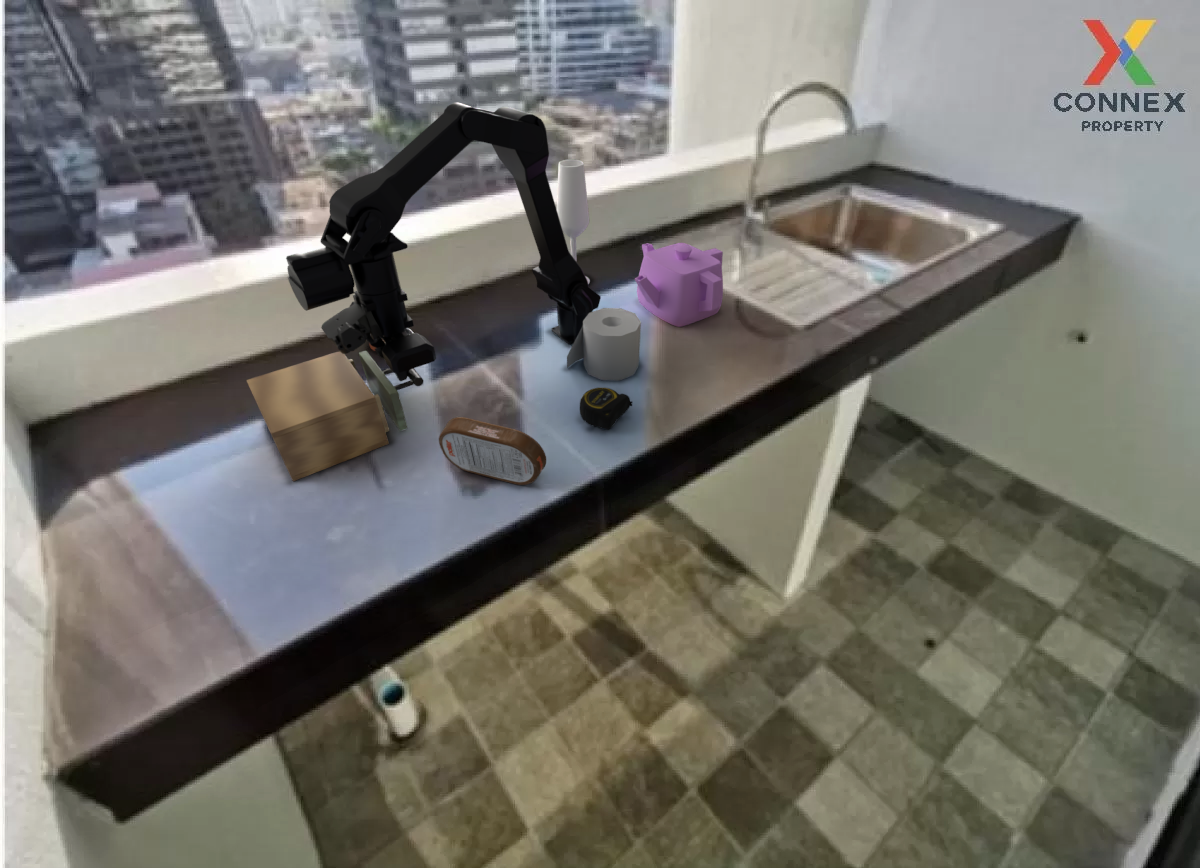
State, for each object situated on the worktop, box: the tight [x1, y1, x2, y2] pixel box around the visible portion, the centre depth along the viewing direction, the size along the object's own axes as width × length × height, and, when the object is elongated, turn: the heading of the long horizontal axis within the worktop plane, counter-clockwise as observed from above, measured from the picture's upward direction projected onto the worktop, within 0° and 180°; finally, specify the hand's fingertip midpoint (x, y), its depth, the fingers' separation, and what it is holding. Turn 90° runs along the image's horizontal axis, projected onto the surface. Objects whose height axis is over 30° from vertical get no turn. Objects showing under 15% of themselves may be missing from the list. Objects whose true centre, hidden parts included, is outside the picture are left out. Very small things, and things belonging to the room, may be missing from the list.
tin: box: [438, 416, 547, 486], centre depth 81 cm, size 15×3×8 cm, turn 71°
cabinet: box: [246, 350, 390, 482], centre depth 87 cm, size 14×15×9 cm
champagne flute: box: [556, 158, 591, 285], centre depth 121 cm, size 7×7×24 cm
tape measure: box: [579, 387, 634, 430], centre depth 92 cm, size 7×7×4 cm
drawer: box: [348, 350, 424, 433], centre depth 90 cm, size 17×13×7 cm
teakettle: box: [634, 242, 724, 328], centre depth 117 cm, size 17×17×12 cm
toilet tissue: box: [566, 307, 642, 382], centre depth 101 cm, size 9×13×9 cm
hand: (402, 379), depth 93 cm, fingers closed
